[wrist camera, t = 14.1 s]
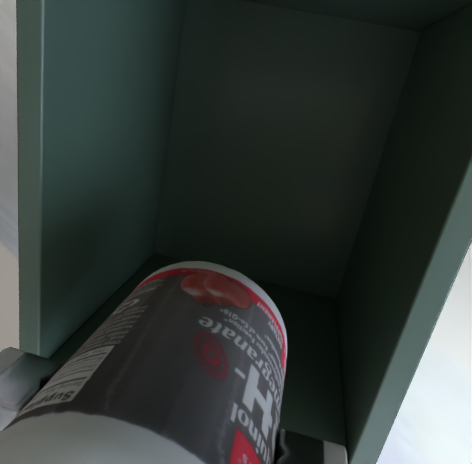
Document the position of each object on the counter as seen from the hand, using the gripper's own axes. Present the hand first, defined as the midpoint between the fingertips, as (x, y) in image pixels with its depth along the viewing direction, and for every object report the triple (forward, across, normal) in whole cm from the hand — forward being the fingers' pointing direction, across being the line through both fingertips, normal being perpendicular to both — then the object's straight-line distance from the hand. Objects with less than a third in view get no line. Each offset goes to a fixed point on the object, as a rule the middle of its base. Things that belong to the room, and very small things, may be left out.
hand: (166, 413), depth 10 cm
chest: (+15, 0, -4) cm, 15 cm away
